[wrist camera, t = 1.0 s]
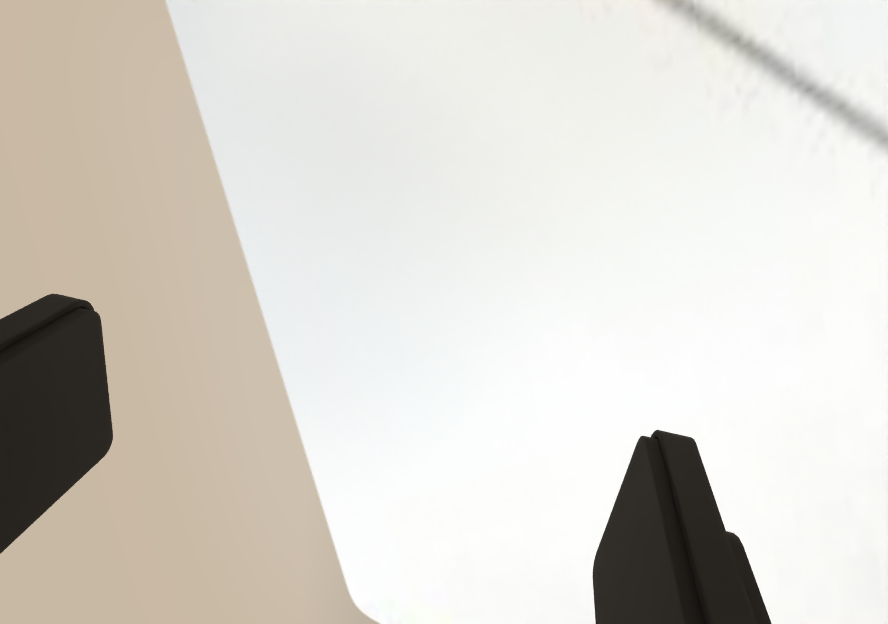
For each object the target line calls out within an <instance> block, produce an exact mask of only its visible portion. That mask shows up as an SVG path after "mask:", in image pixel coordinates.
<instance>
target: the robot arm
mask: <svg viewBox="0 0 888 624" xmlns="http://www.w3.org/2000/svg"><path fill="white" fill-rule="evenodd" d="M112 440H113V431H112V422H111V412H110V403H109V393H108V383H107V374H106V365H105V355H104V345H103V337H102V326H101V319H100V316H99V314H98V313H97V312H95V311H94V309H93V307H92V305H91V304H90V303H89V302H87V301H85V300H80V299H76V298H72V297H67V296H63V295H59V294H50V295H47V296H45V297H43V298H41V299H39V300H37V301H35V302H33V303H31V304H29V305H27V306H25V307H24V308H22V309H20V310H18V311H16V312H14V313H12V314H10V315H8V316H6V317H4V318H2V319H0V553H2V552H3V551H4V550H5V549H6V548H7V547H8V546H9V545H10V544H11V543H12V542H13V541H14V540H15V539H16V538H17V537H18V536H20V535H21V534H22V533H23V532H24V531H25V530H26V529H27V528H28V527H29V526H30V525H31V524H33V523H34V521H36V520H37V519H38V518H39V517H40V516H41V515H42V514H43V513H44V512H45V511H46V510H47V509H48V508H49V507H51V506H52V505H53V504H54V503H55V502H56V501H57V500H58V499H59V498H60V497H61V496H62V495H63V494H65V493H66V492H67V491H68V490H69V489H70V488H71V487H72V486H73V485H74V484H75V483H76V482H77V481H78V480H80V478H82V477H83V476H84V475H85V474H86V473H87V472H88V471H89V470H90V469H91V468H92V467H93V466H94V465H96V464H97V463H98V462H99V461H100V460H101V459H102V458H103V457H104V456H105V455H106V453H107V452H108V450H109V449H110V446H111V443H112ZM593 588H594V603H595V618H596V624H771V621H770V618H769V616H768V613H767V610H766V607H765V605H764V602H763V599H762V596H761V594H760V591H759V588H758V585H757V583H756V580H755V577H754V574H753V572H752V569H751V566H750V563H749V561H748V558H747V555H746V552H745V550H744V547H743V545H742V543H741V541H740V539H739V537H738V536H736V535H735V534H734V533H731V532H727V531H726V530H725V527H724V525H723V522H722V519H721V516H720V513H719V510H718V507H717V504H716V501H715V498H714V495H713V492H712V489H711V486H710V483H709V480H708V477H707V475H706V472H705V469H704V466H703V463H702V460H701V457H700V454H699V451H698V448H697V445H696V442H695V441H694V439H693V438H691V437H686V436H682V435H678V434H673V433H669V432H664V431H660V430H656V431H654V433H653V434H652V436H651V438H650V437H646V436H641V437H640V438H639V440H638V442H637V445H636V447H635V450H634V453H633V455H632V458H631V461H630V464H629V466H628V469H627V472H626V474H625V477H624V480H623V482H622V485H621V488H620V491H619V493H618V496H617V499H616V501H615V504H614V507H613V510H612V512H611V515H610V518H609V520H608V523H607V526H606V528H605V531H604V534H603V537H602V539H601V542H600V545H599V547H598V550H597V553H596V556H595V560H594V566H593Z"/></svg>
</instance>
